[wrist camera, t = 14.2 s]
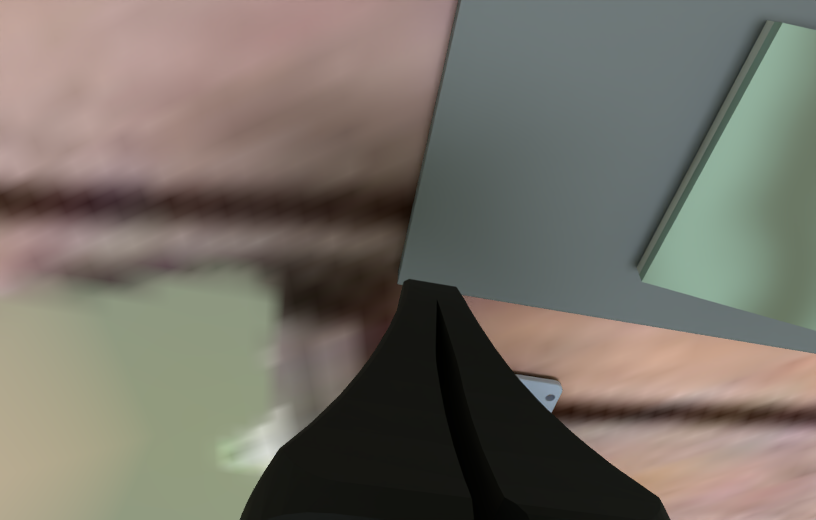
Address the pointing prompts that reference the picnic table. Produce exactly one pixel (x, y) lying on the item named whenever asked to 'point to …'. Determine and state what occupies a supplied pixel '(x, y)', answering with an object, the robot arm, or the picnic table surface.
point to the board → (580, 153)
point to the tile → (751, 192)
